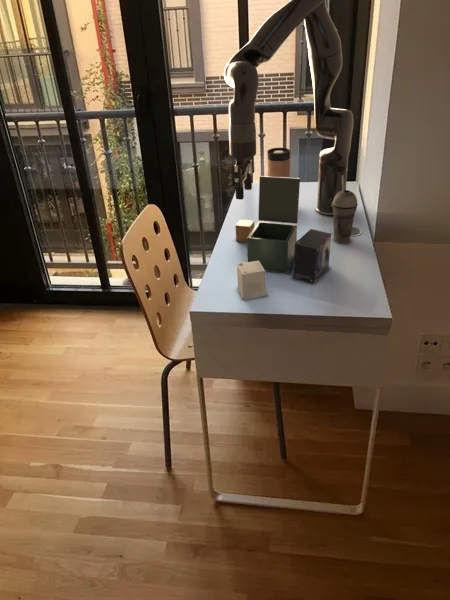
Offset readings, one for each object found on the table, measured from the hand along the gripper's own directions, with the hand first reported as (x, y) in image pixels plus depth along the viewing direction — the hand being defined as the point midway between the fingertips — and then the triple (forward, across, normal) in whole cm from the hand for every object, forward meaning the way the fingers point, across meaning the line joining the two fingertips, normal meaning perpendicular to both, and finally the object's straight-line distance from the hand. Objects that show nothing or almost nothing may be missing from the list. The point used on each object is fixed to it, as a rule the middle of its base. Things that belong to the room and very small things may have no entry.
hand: (244, 194), depth 150 cm
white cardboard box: (+15, -31, -11) cm, 36 cm away
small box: (+15, -17, -24) cm, 33 cm away
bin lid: (-1, -6, -12) cm, 13 cm away
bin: (+15, -13, -12) cm, 23 cm away
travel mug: (+14, +27, -4) cm, 31 cm away
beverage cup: (+15, +5, -29) cm, 33 cm away
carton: (+14, 0, 0) cm, 15 cm away
